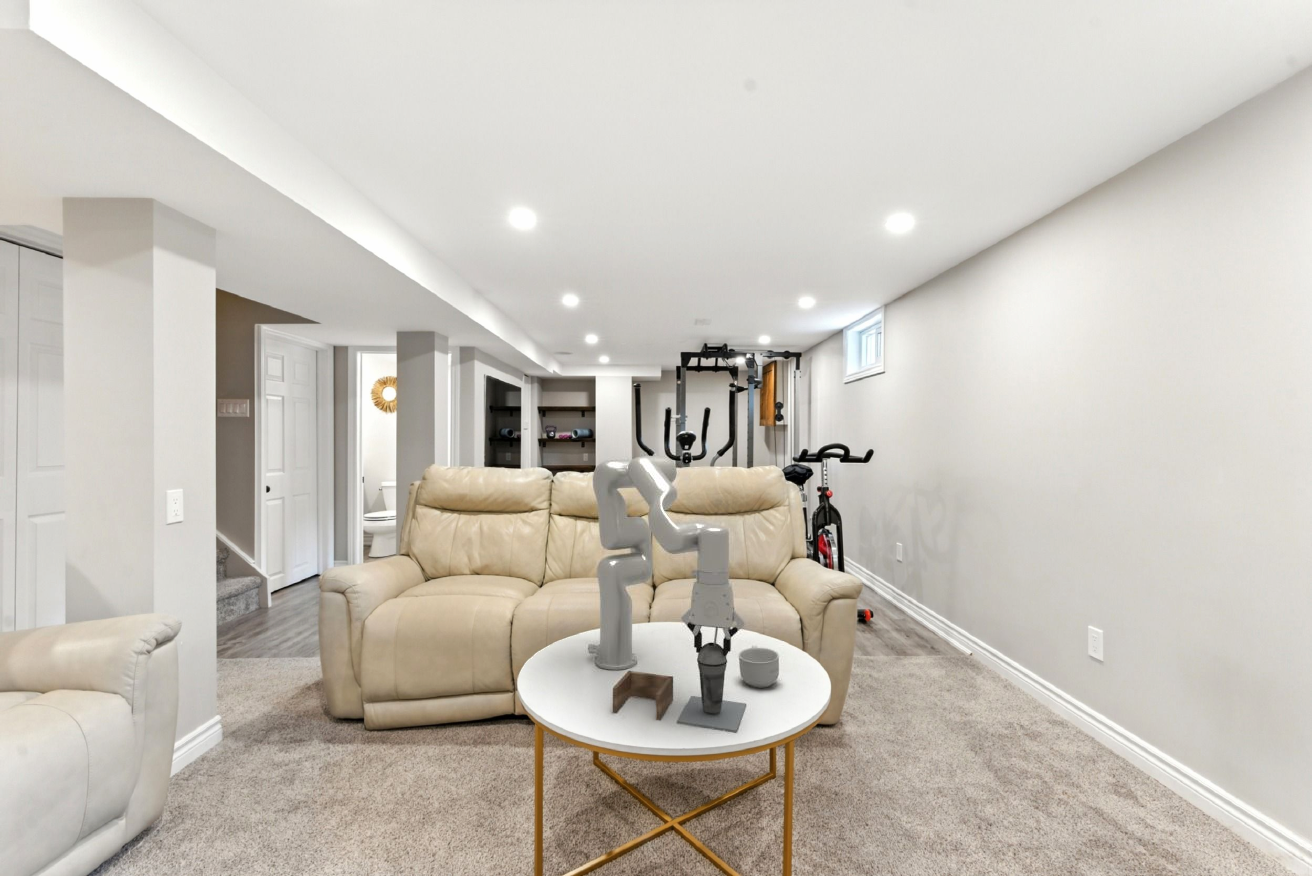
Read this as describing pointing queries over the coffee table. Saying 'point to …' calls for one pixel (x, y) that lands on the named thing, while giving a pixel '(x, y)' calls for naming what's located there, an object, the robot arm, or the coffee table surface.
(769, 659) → the teacup
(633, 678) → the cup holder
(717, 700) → the beverage cup
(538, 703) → the coffee table surface
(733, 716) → the slate mat
